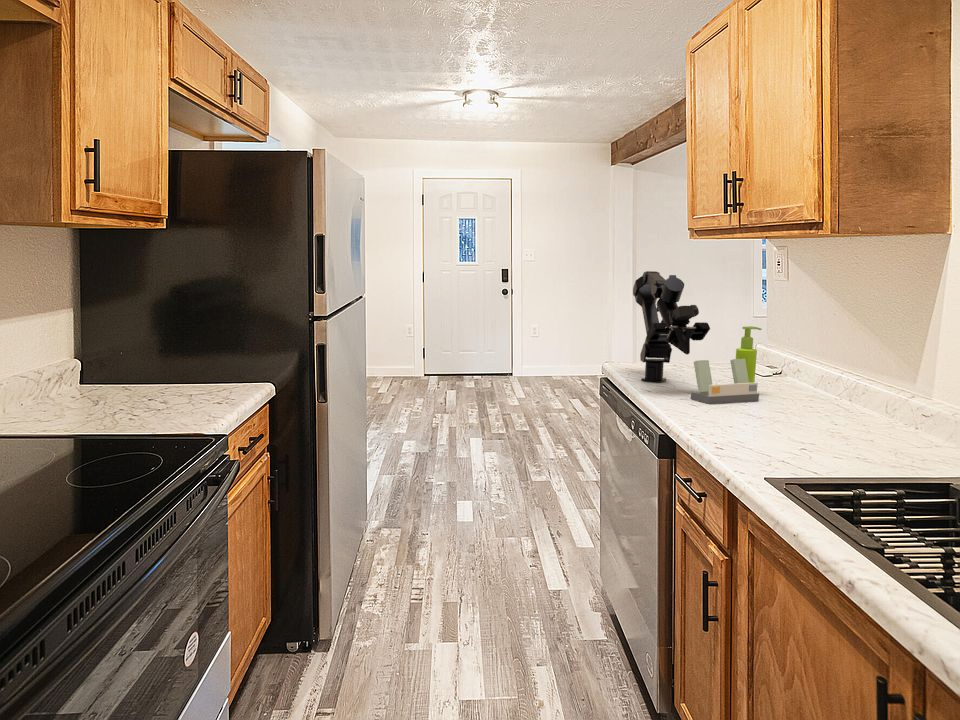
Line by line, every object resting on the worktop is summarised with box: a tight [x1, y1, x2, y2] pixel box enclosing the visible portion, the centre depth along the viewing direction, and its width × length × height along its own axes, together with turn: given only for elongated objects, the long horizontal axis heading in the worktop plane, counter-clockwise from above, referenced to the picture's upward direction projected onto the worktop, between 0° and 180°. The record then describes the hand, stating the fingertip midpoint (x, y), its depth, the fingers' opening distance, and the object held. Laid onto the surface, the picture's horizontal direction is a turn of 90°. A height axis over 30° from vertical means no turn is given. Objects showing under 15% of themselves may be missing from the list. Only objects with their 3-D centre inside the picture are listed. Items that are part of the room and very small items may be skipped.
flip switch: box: [693, 359, 714, 393], centre depth 231 cm, size 2×4×9 cm, turn 112°
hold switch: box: [730, 358, 749, 384], centre depth 236 cm, size 2×4×9 cm, turn 113°
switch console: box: [690, 381, 760, 405], centre depth 233 cm, size 8×18×5 cm, turn 113°
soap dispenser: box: [735, 326, 763, 383], centre depth 245 cm, size 6×7×20 cm
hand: (687, 353), depth 239 cm, fingers closed
